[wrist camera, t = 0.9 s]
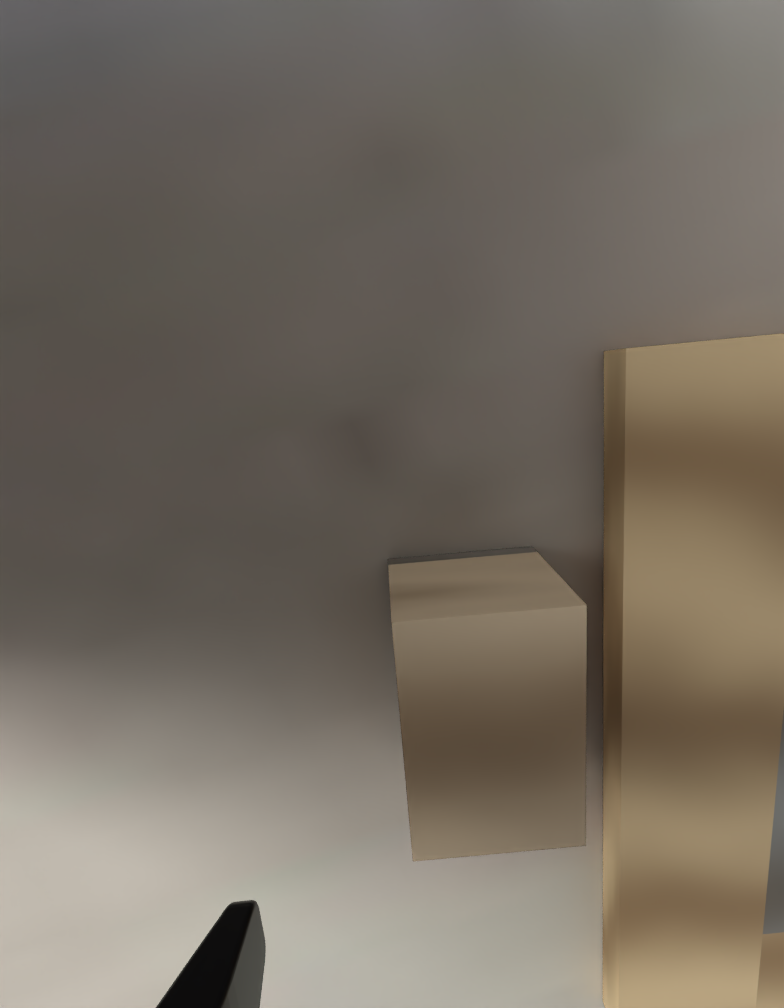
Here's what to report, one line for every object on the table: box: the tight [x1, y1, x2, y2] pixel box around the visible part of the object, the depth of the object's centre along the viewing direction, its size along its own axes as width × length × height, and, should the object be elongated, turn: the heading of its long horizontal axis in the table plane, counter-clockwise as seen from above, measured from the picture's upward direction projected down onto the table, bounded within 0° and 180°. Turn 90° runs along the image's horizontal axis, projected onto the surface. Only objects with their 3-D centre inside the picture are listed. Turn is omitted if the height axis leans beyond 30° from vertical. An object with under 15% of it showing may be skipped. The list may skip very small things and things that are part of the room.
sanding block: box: [388, 546, 587, 861], centre depth 13 cm, size 6×4×4 cm, turn 5°
